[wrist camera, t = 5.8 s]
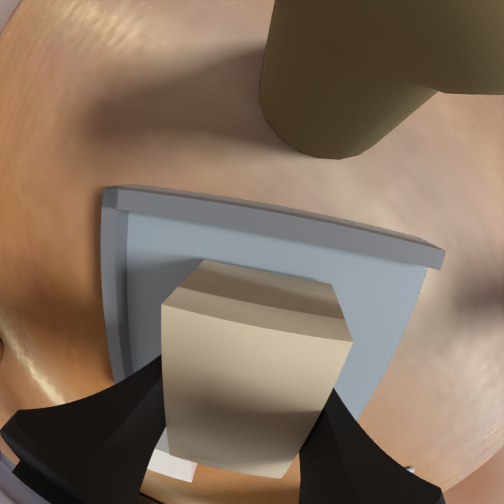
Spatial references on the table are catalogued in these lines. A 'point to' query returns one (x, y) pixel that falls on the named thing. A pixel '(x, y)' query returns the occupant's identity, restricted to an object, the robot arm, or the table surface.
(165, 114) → the table surface
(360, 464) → the robot arm
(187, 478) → the white cube
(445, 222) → the table surface
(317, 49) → the pepper shaker
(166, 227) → the dock
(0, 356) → the cat ice cream
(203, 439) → the block
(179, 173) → the table surface
